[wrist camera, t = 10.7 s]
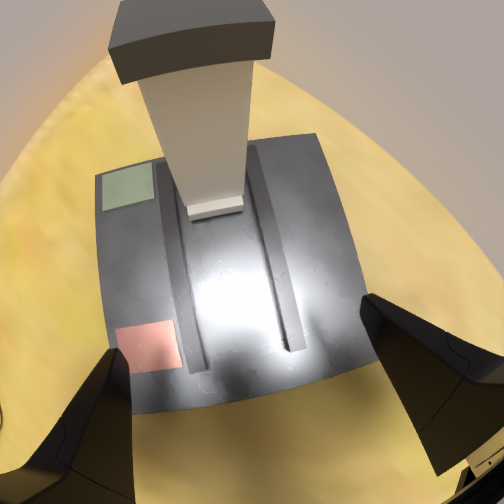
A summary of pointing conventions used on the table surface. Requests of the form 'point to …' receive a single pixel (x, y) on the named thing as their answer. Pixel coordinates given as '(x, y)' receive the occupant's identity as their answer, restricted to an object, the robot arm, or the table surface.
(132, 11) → the handle
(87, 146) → the table surface
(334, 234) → the box
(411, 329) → the robot arm
